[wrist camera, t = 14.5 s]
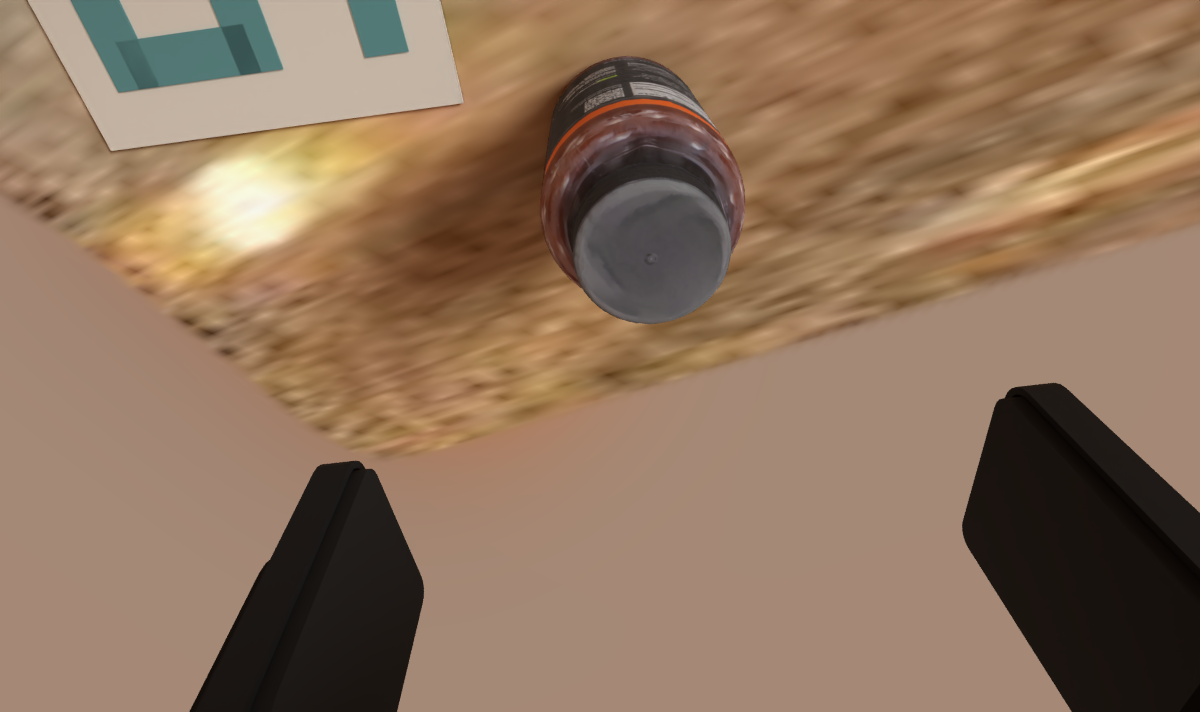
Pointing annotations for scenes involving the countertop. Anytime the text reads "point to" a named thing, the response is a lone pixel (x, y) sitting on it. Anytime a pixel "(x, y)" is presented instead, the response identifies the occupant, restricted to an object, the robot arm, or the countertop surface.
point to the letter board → (247, 63)
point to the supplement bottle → (639, 192)
